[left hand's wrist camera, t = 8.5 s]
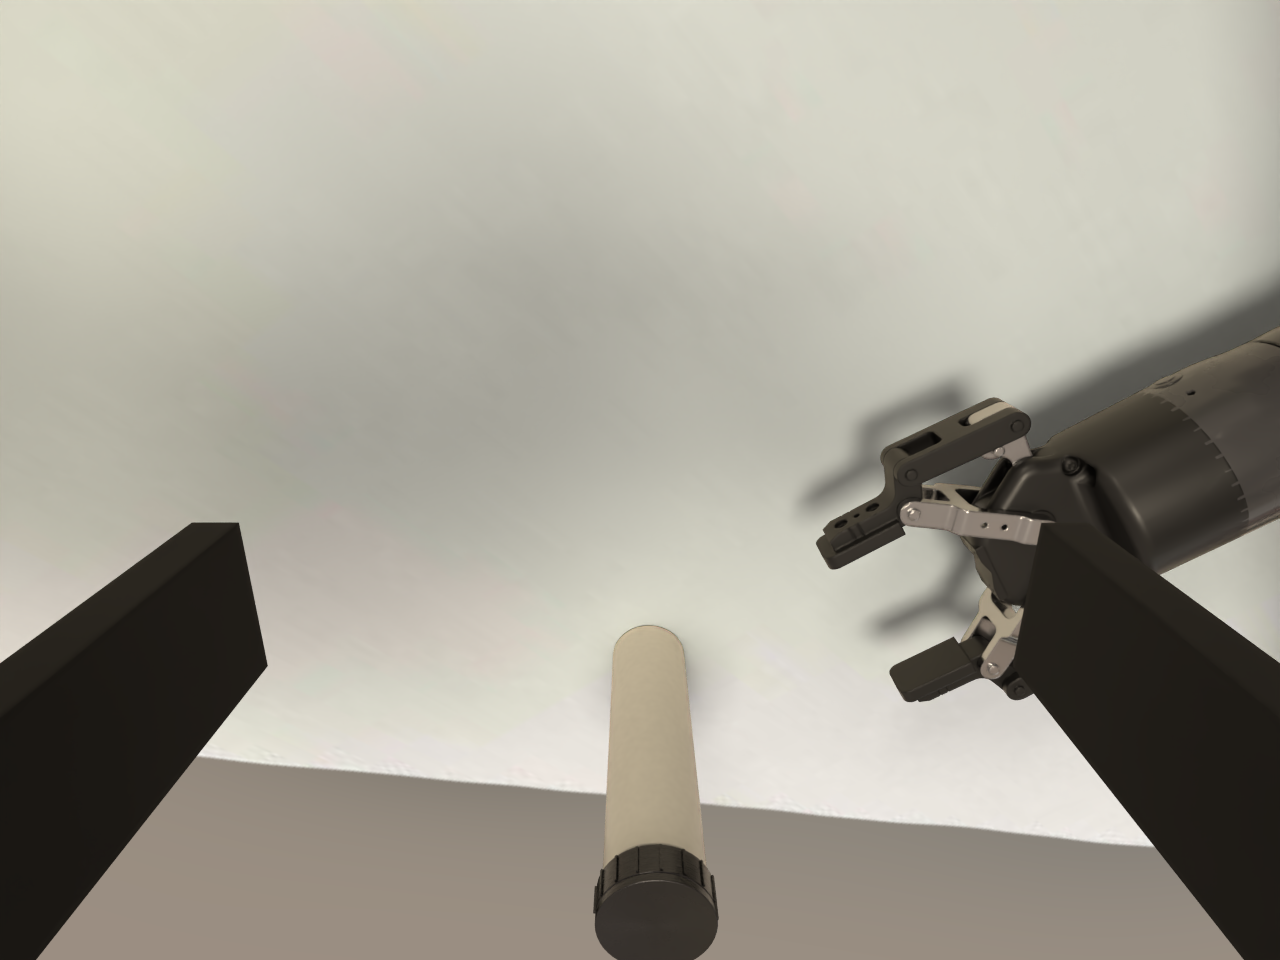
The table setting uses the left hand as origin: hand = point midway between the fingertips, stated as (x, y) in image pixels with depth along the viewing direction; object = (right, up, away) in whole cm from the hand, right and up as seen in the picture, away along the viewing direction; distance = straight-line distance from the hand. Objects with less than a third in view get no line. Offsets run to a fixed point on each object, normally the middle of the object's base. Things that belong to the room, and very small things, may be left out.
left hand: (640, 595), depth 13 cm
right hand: (+11, -5, +24) cm, 27 cm away
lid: (+1, -15, +16) cm, 22 cm away
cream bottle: (0, -8, +32) cm, 33 cm away
